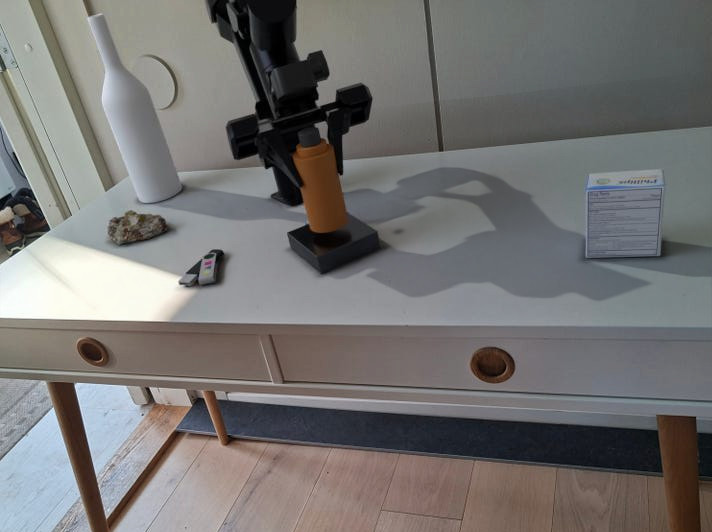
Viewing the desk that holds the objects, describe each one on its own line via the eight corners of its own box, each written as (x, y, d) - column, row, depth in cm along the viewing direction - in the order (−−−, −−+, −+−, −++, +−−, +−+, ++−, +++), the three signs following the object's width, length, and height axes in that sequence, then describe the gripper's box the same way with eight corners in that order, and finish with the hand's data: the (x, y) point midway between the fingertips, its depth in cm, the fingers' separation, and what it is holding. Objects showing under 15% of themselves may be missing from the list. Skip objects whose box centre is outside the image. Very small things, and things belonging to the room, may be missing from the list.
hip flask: (381, 248, 93) (378, 231, 91) (321, 274, 91) (317, 256, 89) (341, 222, 102) (337, 205, 101) (285, 245, 100) (281, 228, 98)
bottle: (189, 189, 126) (127, 9, 109) (148, 207, 123) (78, 24, 106) (172, 180, 132) (110, 7, 115) (132, 197, 129) (63, 22, 112)
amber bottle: (302, 231, 93) (279, 139, 86) (322, 213, 97) (301, 123, 89) (336, 234, 91) (315, 139, 83) (355, 215, 94) (336, 122, 87)
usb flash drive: (212, 254, 102) (210, 248, 101) (242, 256, 99) (240, 249, 99) (178, 286, 96) (176, 279, 95) (209, 288, 93) (207, 281, 93)
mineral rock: (91, 236, 111) (110, 201, 116) (105, 255, 114) (123, 221, 119) (151, 233, 108) (168, 198, 112) (163, 254, 111) (179, 219, 116)
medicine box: (659, 238, 81) (664, 167, 76) (660, 258, 78) (666, 185, 73) (587, 240, 84) (587, 172, 79) (585, 259, 81) (585, 189, 76)
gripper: (204, 54, 82) (245, 173, 80) (354, 13, 84) (399, 127, 82) (215, 106, 93) (252, 211, 91) (347, 68, 95) (387, 170, 93)
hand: (321, 180), depth 89 cm, fingers closed on amber bottle, 5 cm apart
